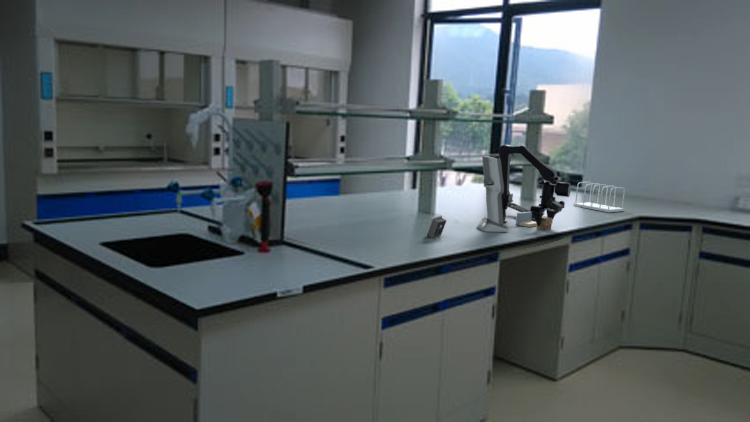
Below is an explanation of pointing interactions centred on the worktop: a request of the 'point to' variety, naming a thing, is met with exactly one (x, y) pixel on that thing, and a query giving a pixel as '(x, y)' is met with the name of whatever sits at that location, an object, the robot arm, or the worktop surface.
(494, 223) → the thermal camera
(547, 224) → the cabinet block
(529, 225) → the blue and beige sponge
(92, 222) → the worktop surface
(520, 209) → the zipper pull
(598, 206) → the file sorter
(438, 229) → the electrical switch
